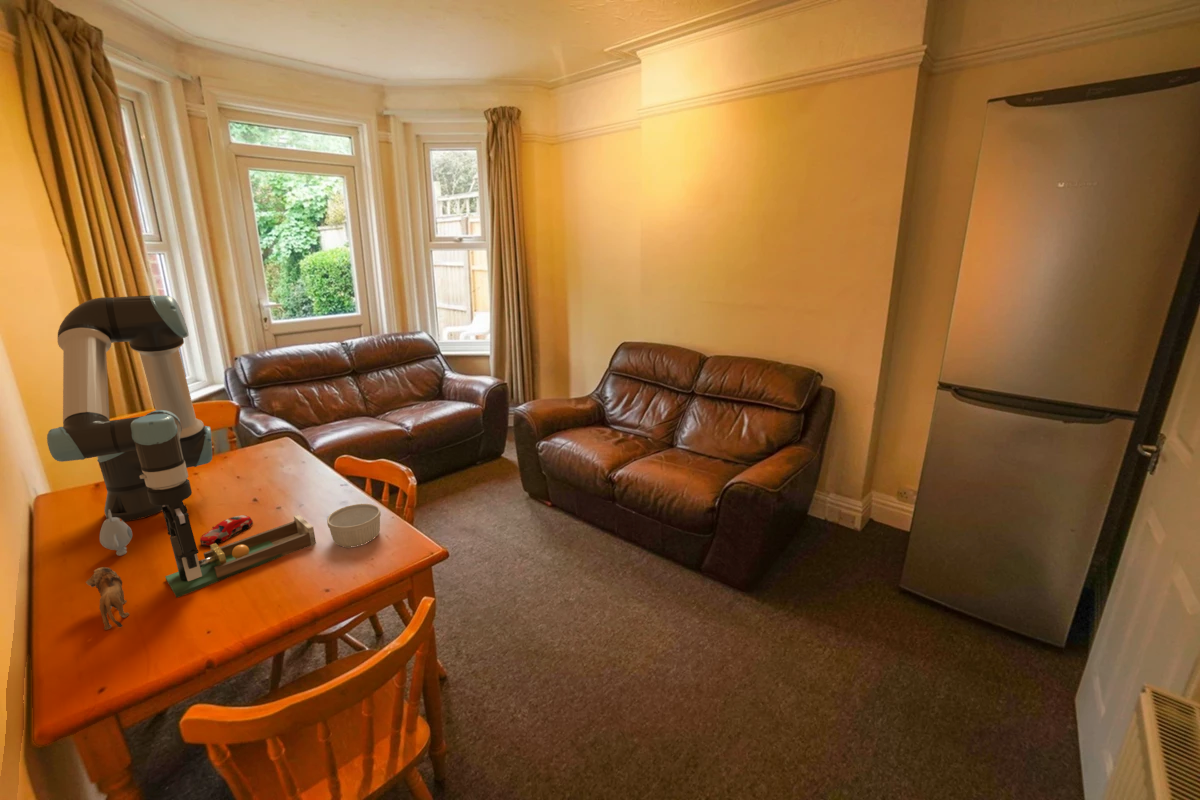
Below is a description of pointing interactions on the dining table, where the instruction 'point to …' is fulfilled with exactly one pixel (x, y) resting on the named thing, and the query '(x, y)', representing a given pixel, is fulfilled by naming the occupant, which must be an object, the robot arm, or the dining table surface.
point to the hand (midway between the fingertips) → (189, 570)
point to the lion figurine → (108, 594)
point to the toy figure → (115, 534)
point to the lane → (260, 552)
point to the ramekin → (354, 524)
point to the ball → (240, 551)
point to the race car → (226, 530)
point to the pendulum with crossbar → (216, 552)
